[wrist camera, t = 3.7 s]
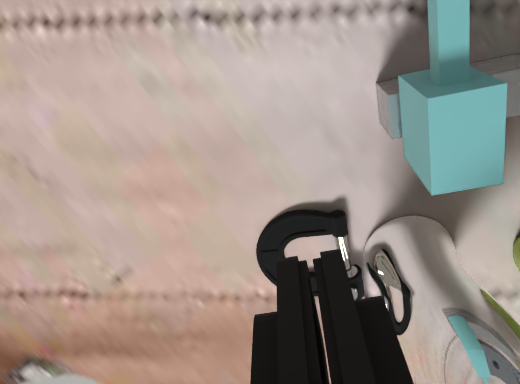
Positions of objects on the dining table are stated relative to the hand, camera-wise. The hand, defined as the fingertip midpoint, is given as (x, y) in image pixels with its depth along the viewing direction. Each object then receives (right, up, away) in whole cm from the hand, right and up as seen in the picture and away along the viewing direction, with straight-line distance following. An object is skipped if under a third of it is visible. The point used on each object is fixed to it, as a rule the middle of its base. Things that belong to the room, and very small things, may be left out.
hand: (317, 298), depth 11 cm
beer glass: (+9, -1, +19) cm, 21 cm away
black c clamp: (+3, -5, +21) cm, 22 cm away
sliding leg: (+6, +11, +10) cm, 17 cm away
